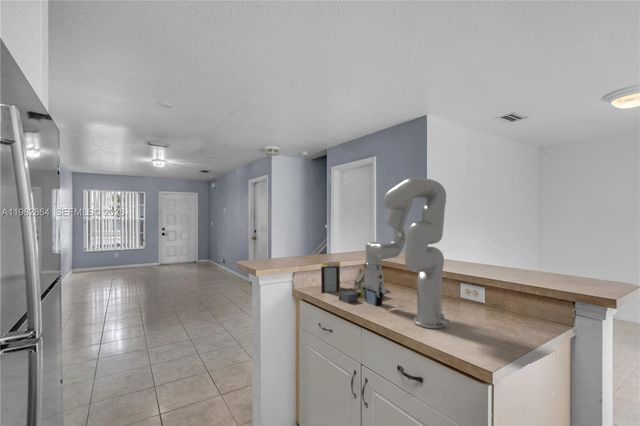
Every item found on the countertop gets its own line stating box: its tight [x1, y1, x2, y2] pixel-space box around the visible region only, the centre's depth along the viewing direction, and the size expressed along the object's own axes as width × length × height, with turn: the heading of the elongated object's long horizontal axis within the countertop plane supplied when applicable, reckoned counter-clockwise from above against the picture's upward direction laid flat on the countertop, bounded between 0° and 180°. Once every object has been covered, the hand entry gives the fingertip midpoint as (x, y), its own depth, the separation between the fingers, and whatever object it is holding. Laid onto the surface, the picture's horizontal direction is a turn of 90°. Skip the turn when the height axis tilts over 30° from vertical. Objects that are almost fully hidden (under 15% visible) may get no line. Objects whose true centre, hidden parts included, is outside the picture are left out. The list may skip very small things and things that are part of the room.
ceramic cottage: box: [353, 268, 365, 291], centre depth 180 cm, size 16×16×15 cm
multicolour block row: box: [338, 291, 385, 305], centre depth 160 cm, size 9×23×8 cm, turn 124°
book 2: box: [365, 290, 380, 307], centre depth 151 cm, size 6×4×7 cm, turn 34°
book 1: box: [360, 283, 365, 298], centre depth 163 cm, size 6×4×7 cm, turn 34°
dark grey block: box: [340, 290, 358, 304], centre depth 156 cm, size 6×6×4 cm
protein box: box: [320, 261, 341, 294], centre depth 181 cm, size 10×15×16 cm
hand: (373, 302), depth 152 cm, fingers open, 7 cm apart
